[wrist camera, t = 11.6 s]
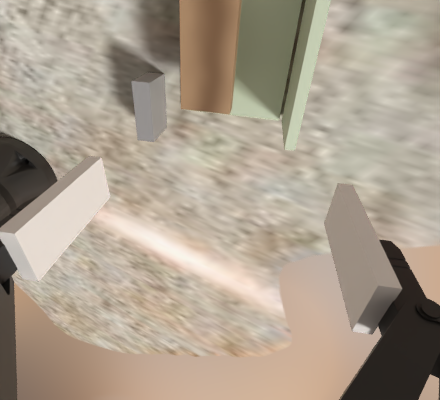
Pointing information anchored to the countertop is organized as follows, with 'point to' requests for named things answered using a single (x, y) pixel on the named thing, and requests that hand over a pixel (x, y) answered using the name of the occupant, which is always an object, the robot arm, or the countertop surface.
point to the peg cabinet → (277, 60)
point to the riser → (149, 105)
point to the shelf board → (208, 53)
